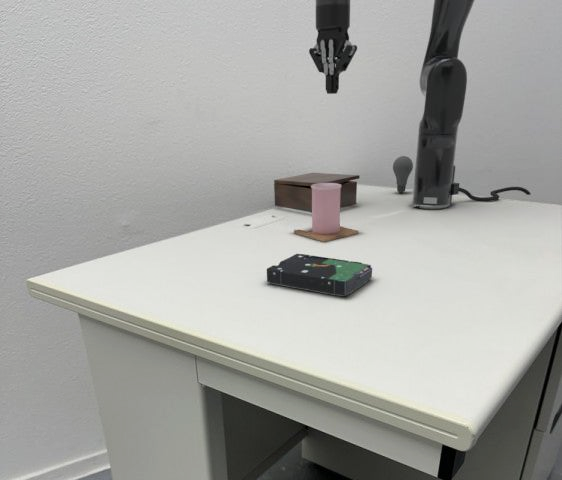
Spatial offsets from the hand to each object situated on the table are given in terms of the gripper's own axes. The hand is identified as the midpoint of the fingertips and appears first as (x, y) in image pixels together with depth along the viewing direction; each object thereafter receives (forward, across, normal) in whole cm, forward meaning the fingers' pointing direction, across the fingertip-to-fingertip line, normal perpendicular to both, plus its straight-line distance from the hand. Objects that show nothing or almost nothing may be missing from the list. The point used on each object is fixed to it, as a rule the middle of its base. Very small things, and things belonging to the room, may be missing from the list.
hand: (331, 93), depth 127 cm
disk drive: (+27, -35, +42) cm, 61 cm away
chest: (+27, +6, 0) cm, 27 cm away
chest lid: (+20, +5, 0) cm, 21 cm away
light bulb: (+27, -1, -30) cm, 40 cm away
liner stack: (+26, -15, +18) cm, 35 cm away
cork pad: (+27, -15, +18) cm, 35 cm away
